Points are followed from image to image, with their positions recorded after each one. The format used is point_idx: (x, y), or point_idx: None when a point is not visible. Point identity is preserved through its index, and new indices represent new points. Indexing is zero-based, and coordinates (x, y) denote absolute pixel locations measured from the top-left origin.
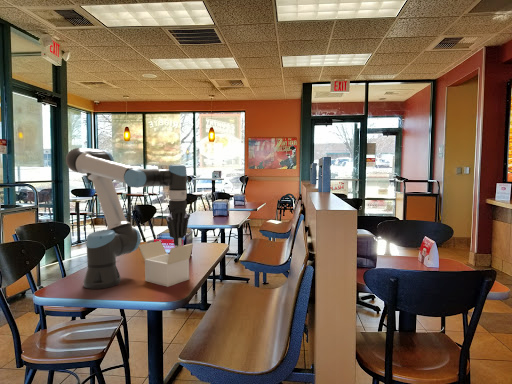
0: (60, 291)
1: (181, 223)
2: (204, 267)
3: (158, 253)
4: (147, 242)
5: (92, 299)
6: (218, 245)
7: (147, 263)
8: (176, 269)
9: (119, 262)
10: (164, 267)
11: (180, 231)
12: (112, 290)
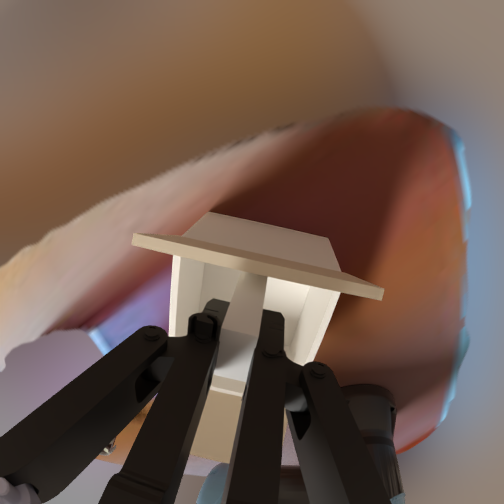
0: (408, 430)
1: (161, 477)
2: (72, 245)
3: (207, 400)
4: (105, 453)
5: (458, 353)
6: None
7: None
8: (276, 247)
9: None
10: None
11: (202, 391)
12: (397, 365)
